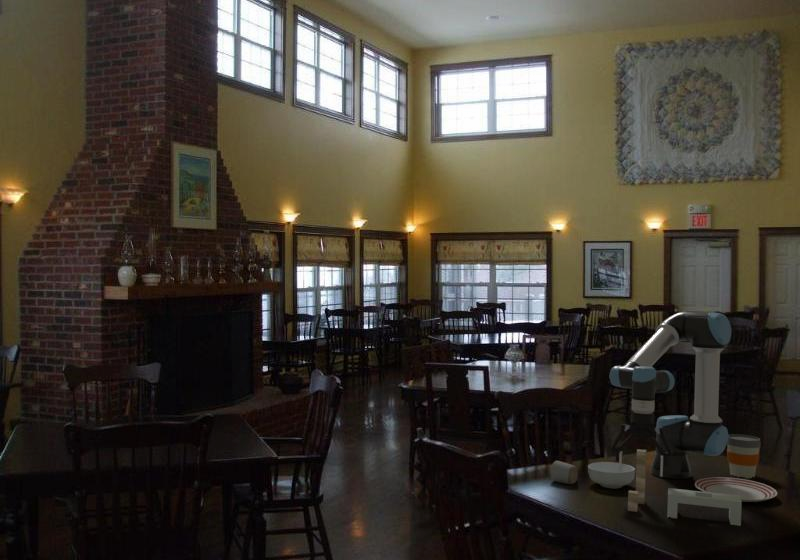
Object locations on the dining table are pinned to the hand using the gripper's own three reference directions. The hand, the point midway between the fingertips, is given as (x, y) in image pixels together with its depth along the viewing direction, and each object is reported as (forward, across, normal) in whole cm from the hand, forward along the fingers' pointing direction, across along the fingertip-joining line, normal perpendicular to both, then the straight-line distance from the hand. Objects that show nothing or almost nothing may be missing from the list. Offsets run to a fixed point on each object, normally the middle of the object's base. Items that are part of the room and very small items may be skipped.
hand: (640, 473), depth 279 cm
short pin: (+10, -2, -10) cm, 14 cm away
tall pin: (+10, 0, 0) cm, 10 cm away
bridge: (+10, +20, -10) cm, 24 cm away
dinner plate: (+10, +32, +24) cm, 42 cm away
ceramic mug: (+10, -27, +17) cm, 34 cm away
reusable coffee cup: (+10, +37, +57) cm, 69 cm away
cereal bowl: (+10, -11, +19) cm, 24 cm away
